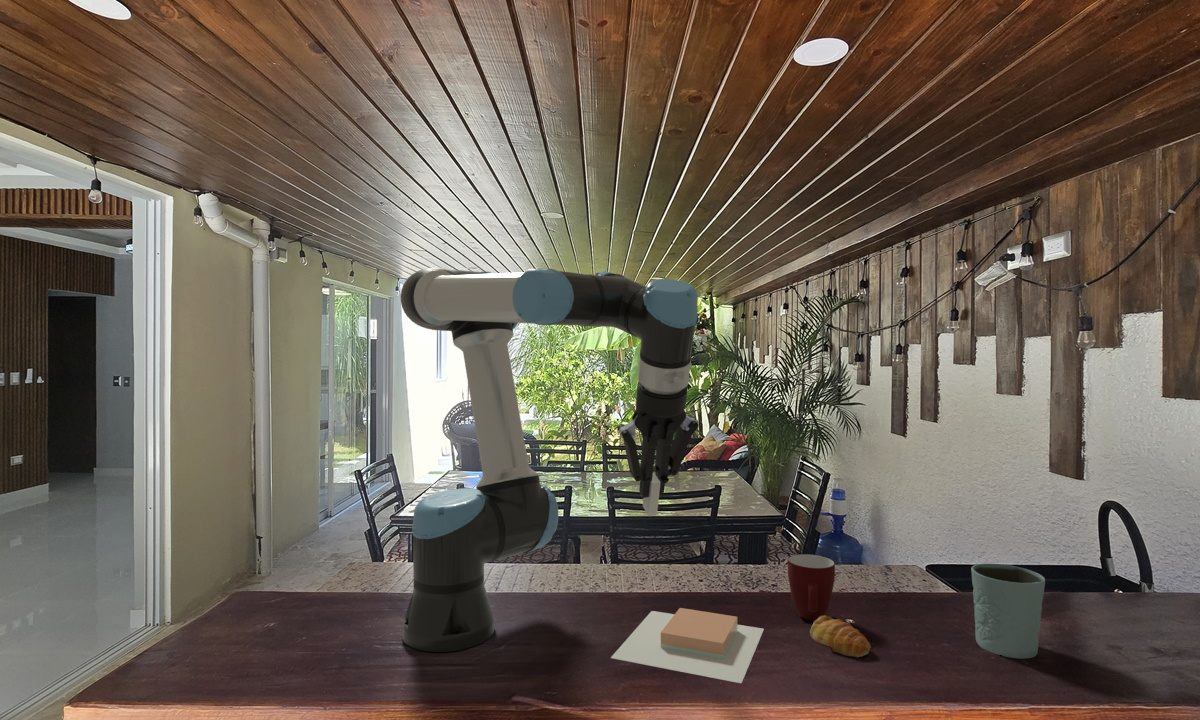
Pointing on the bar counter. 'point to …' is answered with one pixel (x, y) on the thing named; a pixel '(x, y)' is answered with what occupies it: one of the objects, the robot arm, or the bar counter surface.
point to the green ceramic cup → (1007, 609)
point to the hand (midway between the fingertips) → (649, 510)
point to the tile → (699, 633)
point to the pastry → (839, 636)
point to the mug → (811, 584)
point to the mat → (648, 651)
